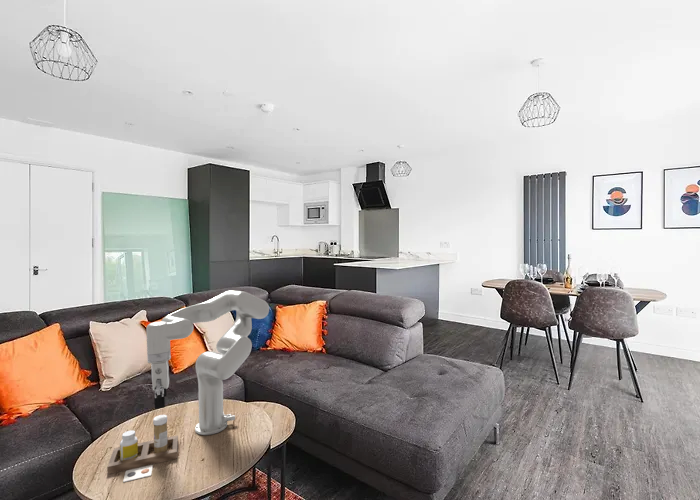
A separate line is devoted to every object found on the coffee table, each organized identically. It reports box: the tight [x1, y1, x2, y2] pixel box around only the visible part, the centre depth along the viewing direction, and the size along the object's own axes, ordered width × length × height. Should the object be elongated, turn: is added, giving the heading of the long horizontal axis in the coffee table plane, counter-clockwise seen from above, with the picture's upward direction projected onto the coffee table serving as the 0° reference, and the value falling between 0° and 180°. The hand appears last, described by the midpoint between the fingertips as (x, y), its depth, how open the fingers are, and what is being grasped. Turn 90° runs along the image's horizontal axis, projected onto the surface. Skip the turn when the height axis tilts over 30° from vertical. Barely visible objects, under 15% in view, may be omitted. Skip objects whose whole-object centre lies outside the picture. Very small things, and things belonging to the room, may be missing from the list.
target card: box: [122, 464, 154, 483], centre depth 121 cm, size 8×6×1 cm
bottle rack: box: [106, 435, 179, 475], centre depth 130 cm, size 21×12×2 cm, turn 114°
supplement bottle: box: [119, 429, 139, 461], centre depth 128 cm, size 5×5×10 cm
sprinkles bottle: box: [152, 414, 169, 454], centre depth 132 cm, size 5×5×13 cm
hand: (160, 402), depth 132 cm, fingers open, 9 cm apart
